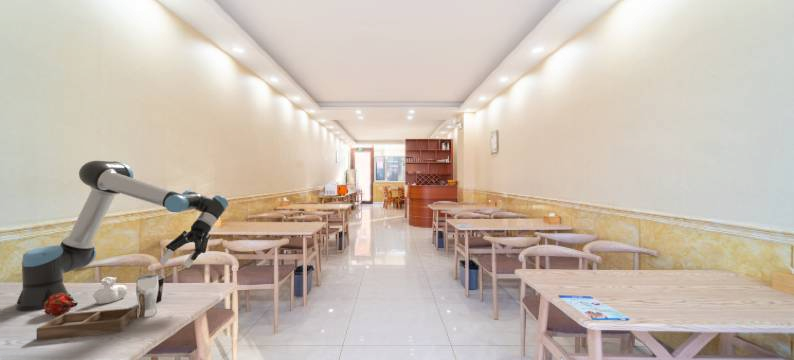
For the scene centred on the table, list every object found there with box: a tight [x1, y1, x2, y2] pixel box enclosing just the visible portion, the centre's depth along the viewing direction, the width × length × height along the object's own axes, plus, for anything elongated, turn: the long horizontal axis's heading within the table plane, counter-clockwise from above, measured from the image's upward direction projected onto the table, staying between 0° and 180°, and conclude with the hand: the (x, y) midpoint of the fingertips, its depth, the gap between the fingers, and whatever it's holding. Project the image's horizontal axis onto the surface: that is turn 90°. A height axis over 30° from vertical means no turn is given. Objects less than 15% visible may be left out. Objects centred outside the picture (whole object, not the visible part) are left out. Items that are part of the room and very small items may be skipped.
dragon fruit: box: [43, 293, 78, 317], centre depth 129 cm, size 8×8×12 cm
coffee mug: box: [156, 275, 165, 304], centre depth 143 cm, size 12×9×10 cm
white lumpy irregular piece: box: [92, 276, 128, 305], centre depth 143 cm, size 12×8×11 cm
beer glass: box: [135, 273, 159, 319], centre depth 128 cm, size 7×7×15 cm
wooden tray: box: [36, 307, 138, 342], centre depth 116 cm, size 12×23×4 cm, turn 105°
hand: (173, 265), depth 138 cm, fingers open, 13 cm apart
